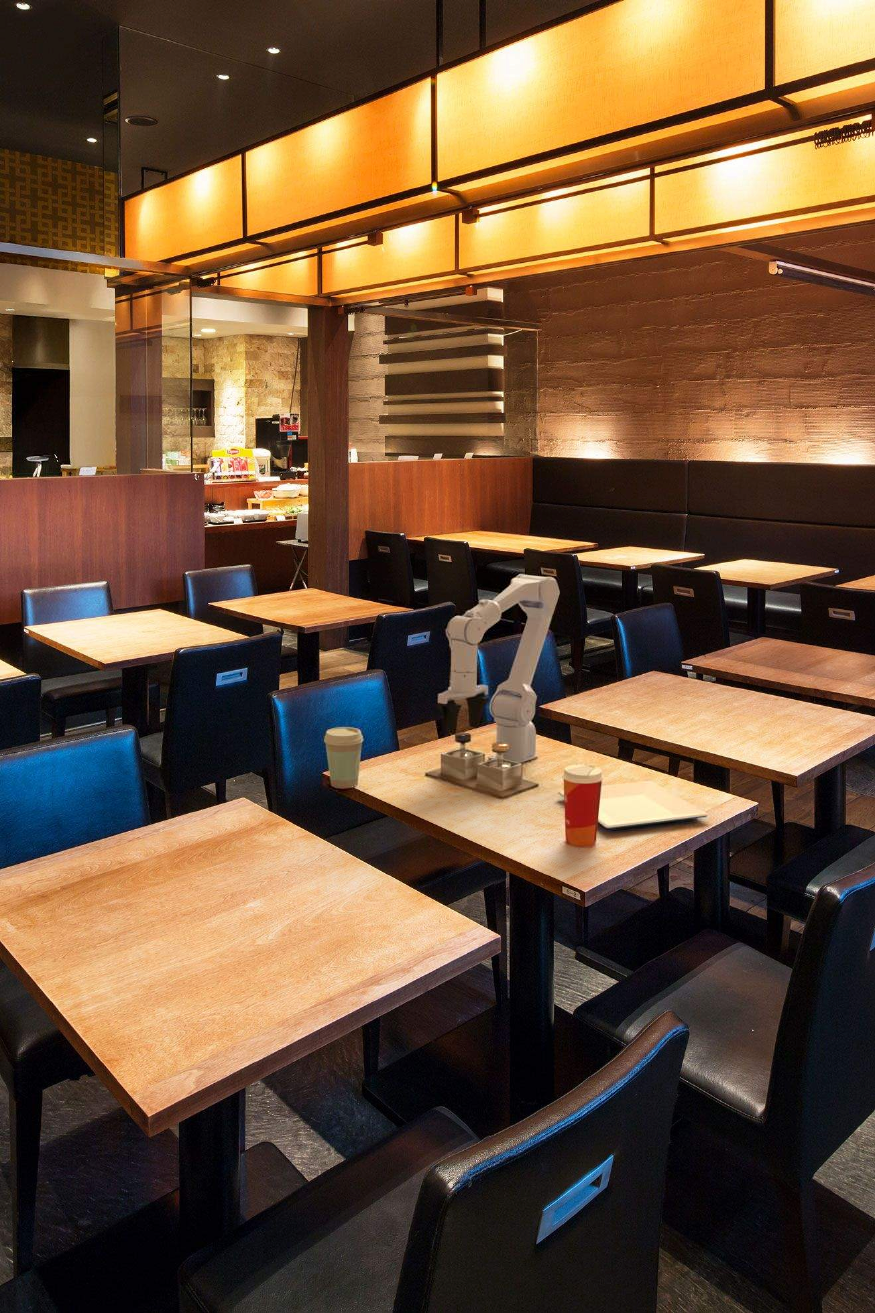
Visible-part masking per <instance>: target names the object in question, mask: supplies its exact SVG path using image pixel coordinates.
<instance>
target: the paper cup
mask: <svg viewBox="0 0 875 1313" xmlns="http://www.w3.org/2000/svg"><path fill="white" fill-rule="evenodd" d="M561 777H562V779H563V790H564V797H563V799H564V800H563V805H564V806H563V807H564V808H563V809H564V830H565V832H564V834H565V842H566V844H567V845H569V846H572V847H576V848H588V847H593V846H595V844H596V843H597V834H598V826H599V825H598V824H599V823H598V817H599V806H600V795H601V786H603V784H602V783H603V780H604V779H605V778H604V775H603V772H602V769H601V768H600V767H598V766H597V767H595V766H592V765H587V764H572V765H569V766H566V767H565V768H564V770H563V773H561Z"/></svg>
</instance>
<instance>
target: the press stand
mask: <svg viewBox="0 0 875 1313" xmlns="http://www.w3.org/2000/svg"><path fill="white" fill-rule="evenodd" d="M455 752H460V747H459V748H456V749H452V750H449V751H446V752H443V753H440V768H437V769H434V770H430V771H428V772H424V776H427V777H430V778H434V779H437V780H440V781H443V782H446V783H450V784H453V785H456V786H459V787H463V788H467V789H469V790H472V791H474V792H475V791H476V792H479V793H482V794H486V795H489V796H492V797H495V798H498V799H501V800H503V799H507V798H509V797H513V796H514V795H517V794H520V793H522V792H525V791H529V790H532V789H534V788H536V787H539V783H538V782H534V781H531V780H527V779H523V776H524V774H523V772H524V771H523V770H524V769H523V768H524V767H523V765H524V763H517V762H514V761H510V760H506V759H503V762H507V763H510V764H511V767H509V768H506V769H503V770H500V769H496V768H493V767H489V764H490V763H492V762H497V758H495V759H489V760H485V759H486V753H484V752H481V751H477V750H473V749H469V748H466V752H471V753H473V756H472V757H469V758H466V759H461V758H457V757H454V756H452V754H453V753H455Z"/></svg>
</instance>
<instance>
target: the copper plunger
mask: <svg viewBox="0 0 875 1313" xmlns="http://www.w3.org/2000/svg"><path fill="white" fill-rule="evenodd" d="M508 750H509V744H508V743H504V742H496V741H495V742H493V743H491V751H492V752H493V753H495V754H496V753H497V762H492V763H490V764H489V767H493V768H496V769H500V770H503V769H506V768H509V767H511V764H510V763H507V762H503V753H506V752H508Z"/></svg>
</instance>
